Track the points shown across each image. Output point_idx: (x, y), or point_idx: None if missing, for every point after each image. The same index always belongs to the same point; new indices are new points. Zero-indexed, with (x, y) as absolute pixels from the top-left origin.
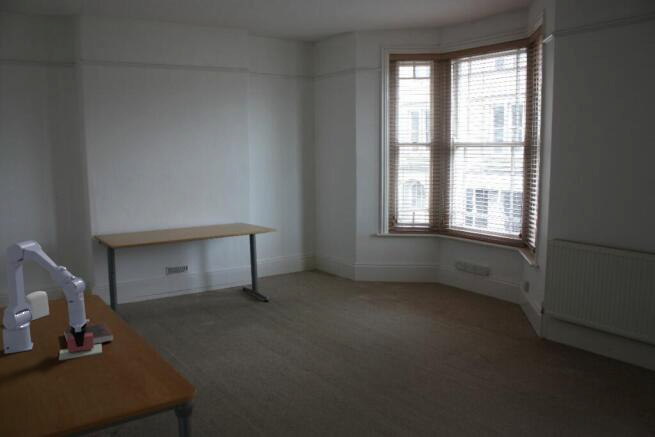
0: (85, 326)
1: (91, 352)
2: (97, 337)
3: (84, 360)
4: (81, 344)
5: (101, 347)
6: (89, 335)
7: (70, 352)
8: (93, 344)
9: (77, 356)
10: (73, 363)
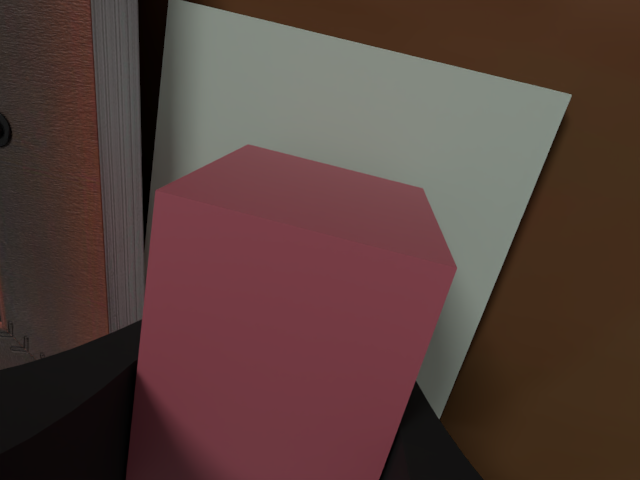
0: (4, 458)
1: (472, 227)
2: (61, 30)
3: (630, 347)
4: None
5: (368, 48)
6: (365, 314)
7: None
8: (297, 160)
9: (449, 379)
10: (614, 453)
